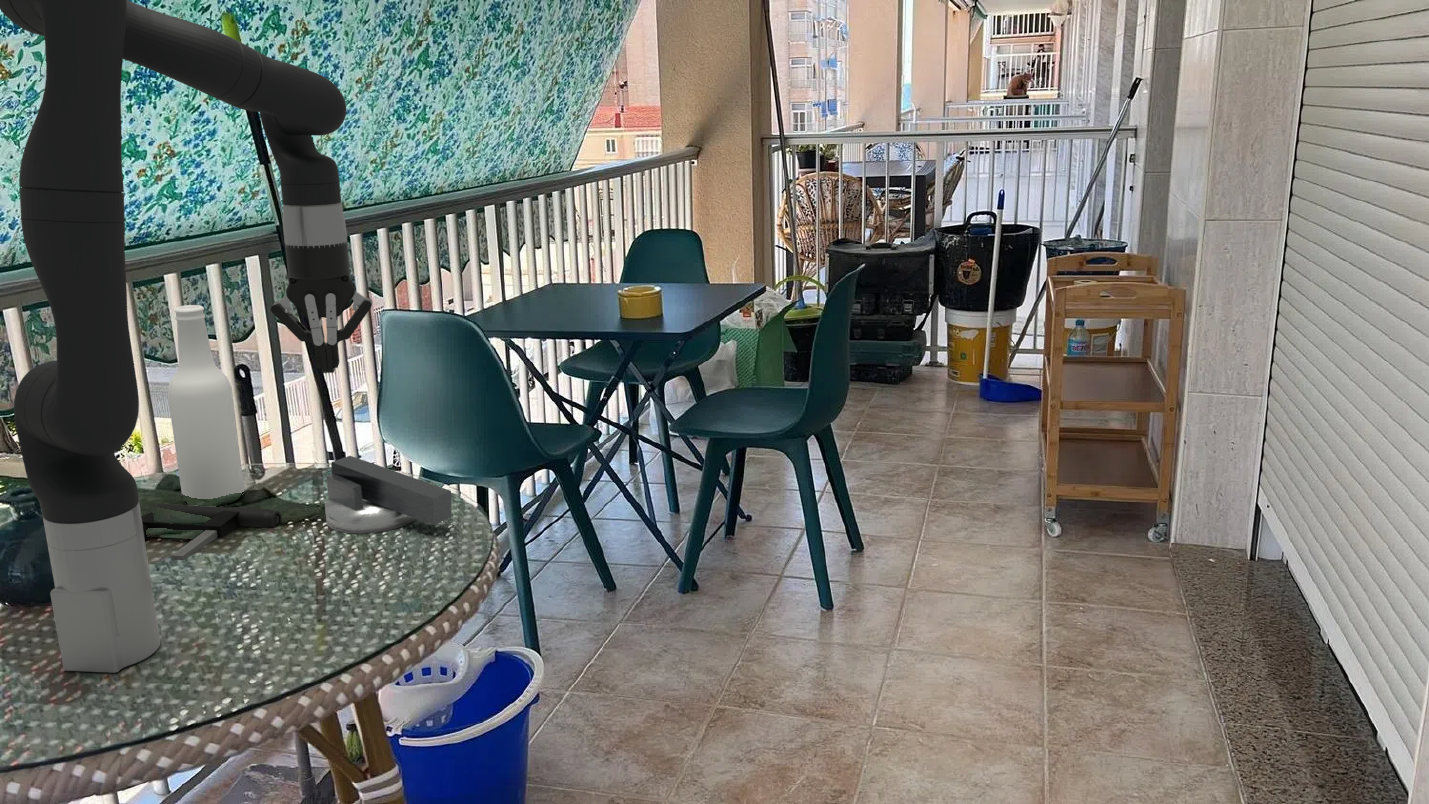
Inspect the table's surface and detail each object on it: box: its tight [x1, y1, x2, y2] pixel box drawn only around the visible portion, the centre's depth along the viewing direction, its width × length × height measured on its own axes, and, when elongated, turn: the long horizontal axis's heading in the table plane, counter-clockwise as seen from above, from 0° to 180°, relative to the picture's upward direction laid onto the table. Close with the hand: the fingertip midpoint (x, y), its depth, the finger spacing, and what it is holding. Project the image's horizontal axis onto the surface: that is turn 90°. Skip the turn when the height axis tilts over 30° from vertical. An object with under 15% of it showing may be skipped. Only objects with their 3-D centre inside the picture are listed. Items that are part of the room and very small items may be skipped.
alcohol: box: [167, 304, 245, 499], centre depth 170 cm, size 9×9×30 cm
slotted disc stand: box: [324, 462, 417, 535], centre depth 164 cm, size 13×13×6 cm
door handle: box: [141, 502, 283, 561], centre depth 158 cm, size 3×20×16 cm
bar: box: [330, 455, 452, 526], centre depth 162 cm, size 20×4×4 cm, turn 59°
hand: (329, 371), depth 149 cm, fingers closed
